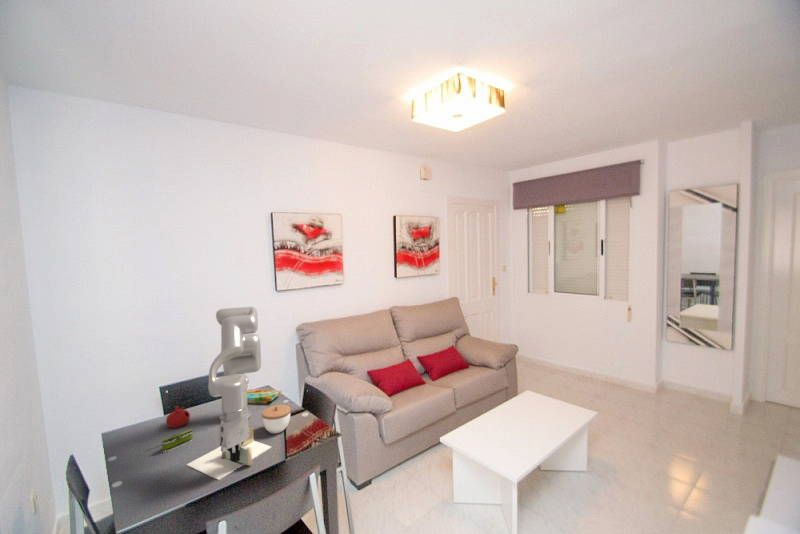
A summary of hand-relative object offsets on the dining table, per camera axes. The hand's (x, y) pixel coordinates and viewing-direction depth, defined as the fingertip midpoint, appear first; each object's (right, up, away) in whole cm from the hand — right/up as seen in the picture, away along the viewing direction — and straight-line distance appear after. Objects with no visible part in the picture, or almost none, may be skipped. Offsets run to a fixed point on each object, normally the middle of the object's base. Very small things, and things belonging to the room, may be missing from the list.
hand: (235, 460), depth 134 cm
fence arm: (0, -2, +4) cm, 4 cm away
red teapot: (-45, -3, +37) cm, 58 cm away
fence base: (-5, -2, +12) cm, 14 cm away
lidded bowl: (+6, -2, +29) cm, 30 cm away
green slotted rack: (-36, -4, +16) cm, 39 cm away
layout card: (-6, -3, +8) cm, 10 cm away
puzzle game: (-16, -2, +64) cm, 66 cm away
